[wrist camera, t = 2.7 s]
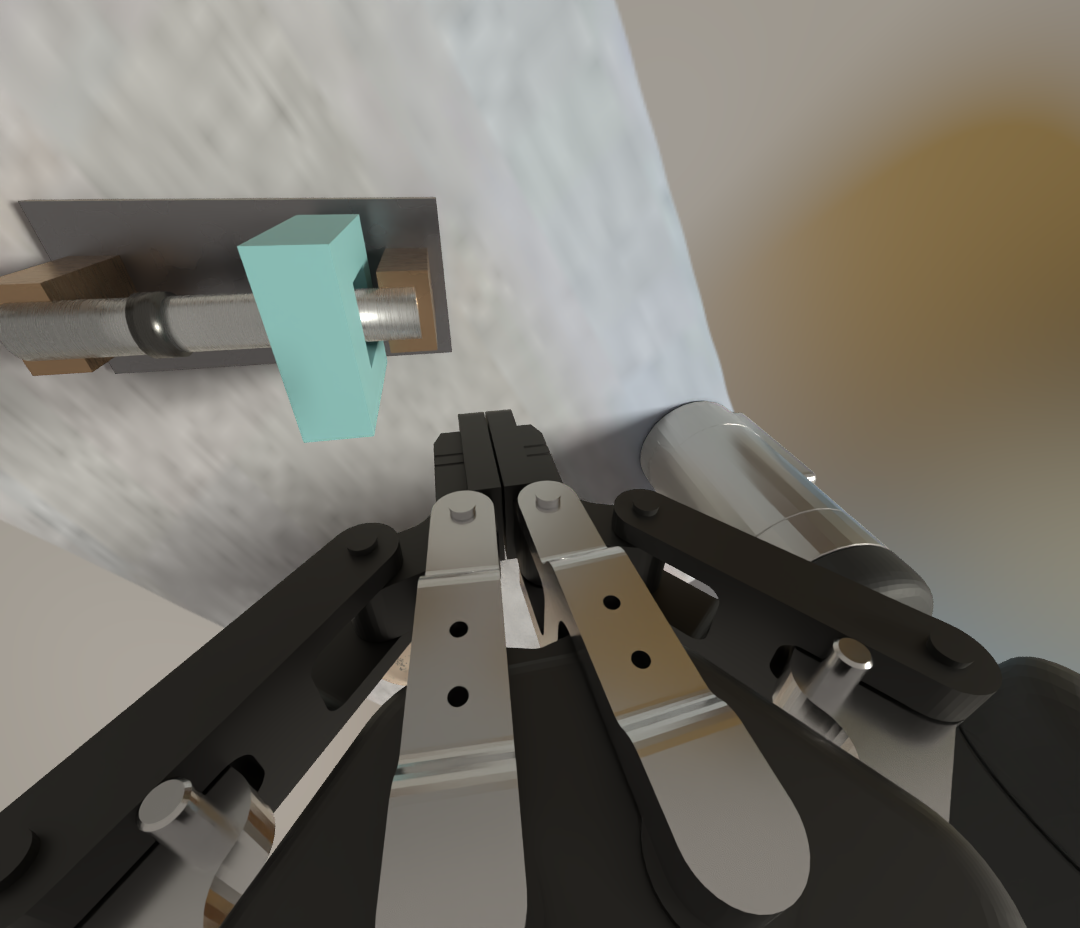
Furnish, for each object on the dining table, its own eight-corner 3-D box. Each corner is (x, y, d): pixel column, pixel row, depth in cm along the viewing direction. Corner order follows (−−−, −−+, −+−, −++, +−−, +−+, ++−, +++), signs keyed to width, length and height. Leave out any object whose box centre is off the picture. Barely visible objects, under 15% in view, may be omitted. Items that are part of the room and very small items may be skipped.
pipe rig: (435, 197, 26) (439, 214, 19) (451, 347, 31) (458, 403, 24) (29, 199, 23) (-139, 222, 16) (122, 368, 28) (25, 439, 21)
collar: (358, 214, 23) (329, 244, 16) (387, 361, 28) (373, 436, 21) (296, 214, 23) (237, 246, 16) (335, 364, 27) (304, 442, 20)
